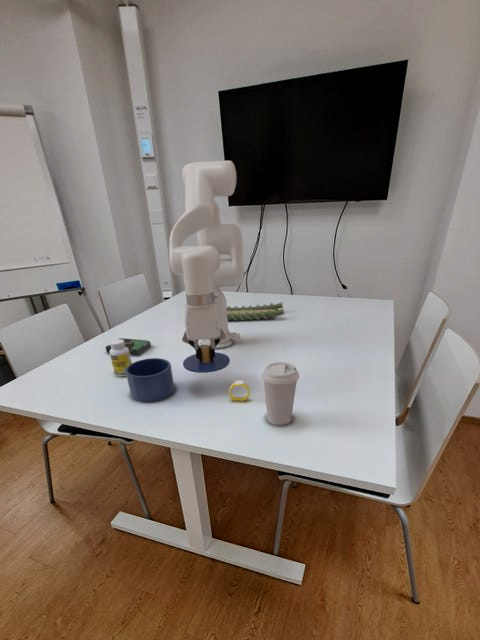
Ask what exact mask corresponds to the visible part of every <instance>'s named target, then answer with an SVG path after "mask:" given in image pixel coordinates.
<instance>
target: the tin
mask: <svg viewBox="0 0 480 640" xmlns="http://www.w3.org/2000/svg"><path fill="white" fill-rule="evenodd" d="M125 372H126V376H125V377H126V380H127V384H128V389H129V393H130V396H131V398H132V399H134V400H135V401H137V402H141V403H153V402H160V401H162V400H165V399H167V398H169V397H170V396H171V395H173V393H174V392H175V381H174V375H173V370H172V364H171V362H170V361H169V360H167V359H164V358H158V357H153V358H144V359H140V360H136V361H134V362H132V363H131V364H130V365H129V366H127V368H126V370H125Z"/></svg>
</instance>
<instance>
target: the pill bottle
mask: <svg viewBox="0 0 480 640" xmlns="http://www.w3.org/2000/svg"><path fill="white" fill-rule="evenodd" d="M109 345H110V346H111V347H112V349H111V350H110V353H109V356H110V357H109V358H110V360H111V364H112V369H113V372H114V375H116V376H118V377H127V376H126V372H125V370H126V368H127V366H129V365H130V364H131V363H133V361H132V358H131V355H130V353H129V349H128V348H127V347H125V346H124V345H125V343H124V340H122V339H119V338H117V339H112V340H110V342H109Z"/></svg>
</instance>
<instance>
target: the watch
mask: <svg viewBox="0 0 480 640" xmlns="http://www.w3.org/2000/svg"><path fill="white" fill-rule="evenodd" d="M233 387H237V388H240V387H243V388H245V389H246V391H247V394H246V396H244V397H235V396H234V395H233V394H232V391H231V390H232V388H233ZM228 395H229V397H230V399H232V400H233V401H238V402H244V401H247V399H248V398H249V397H250V387H249V386H248V385H247V384H246V383H245V382H244V380H242V379H241V380H239V379H238V380H234V383H232V384H231V385H230V386H229V389H228Z"/></svg>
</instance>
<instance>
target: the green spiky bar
mask: <svg viewBox="0 0 480 640" xmlns="http://www.w3.org/2000/svg"><path fill="white" fill-rule="evenodd" d="M282 315H285V310H284V305H283V302H279V303H275V304H274V303H273V302H270V304H269V305H266V304H265V303H264V304H263V305H259V304H256V306H252V305H249V306H245V305H242V306H241V307H238V306H237V305H236V306H234V307H231V306H230V305H228V306H227V320H228V322H230V321H231V320H234V321H235V322H237V321H238V320H241V321H243V322H244V321H246V320H250V321H253V319H255V320H256V319H257V320H259V321H260V320H261V319H263V318H264V319H266V320H268V319H269V318H273V319H275V318H276V317H279V316H282Z"/></svg>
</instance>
